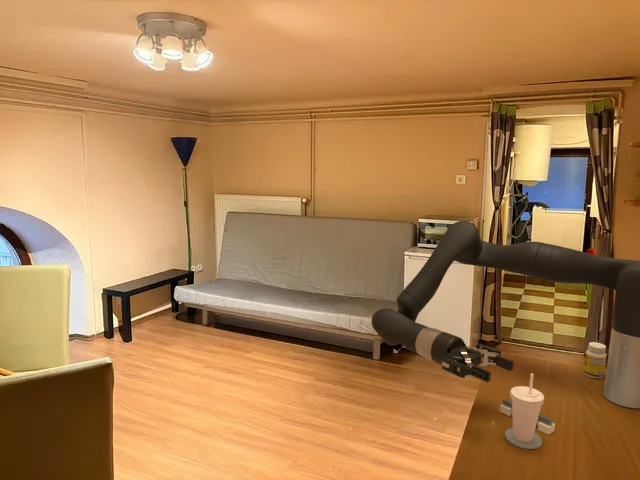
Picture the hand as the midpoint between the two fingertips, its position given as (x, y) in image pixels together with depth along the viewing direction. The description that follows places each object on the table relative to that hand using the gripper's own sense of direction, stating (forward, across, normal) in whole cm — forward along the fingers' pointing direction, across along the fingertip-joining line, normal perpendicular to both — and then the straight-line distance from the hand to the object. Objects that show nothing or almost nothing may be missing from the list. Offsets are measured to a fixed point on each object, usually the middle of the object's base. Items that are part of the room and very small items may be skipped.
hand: (501, 371), depth 104 cm
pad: (+6, 0, +12) cm, 14 cm away
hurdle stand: (+3, +7, +12) cm, 15 cm away
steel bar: (+3, +7, +11) cm, 13 cm away
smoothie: (+6, 0, +12) cm, 14 cm away
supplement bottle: (+2, +42, +13) cm, 44 cm away
